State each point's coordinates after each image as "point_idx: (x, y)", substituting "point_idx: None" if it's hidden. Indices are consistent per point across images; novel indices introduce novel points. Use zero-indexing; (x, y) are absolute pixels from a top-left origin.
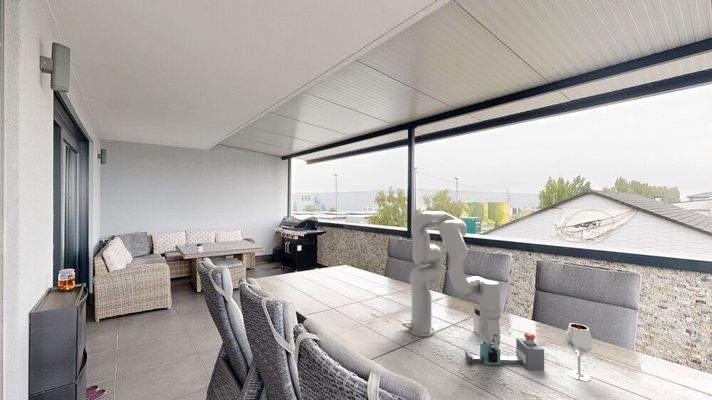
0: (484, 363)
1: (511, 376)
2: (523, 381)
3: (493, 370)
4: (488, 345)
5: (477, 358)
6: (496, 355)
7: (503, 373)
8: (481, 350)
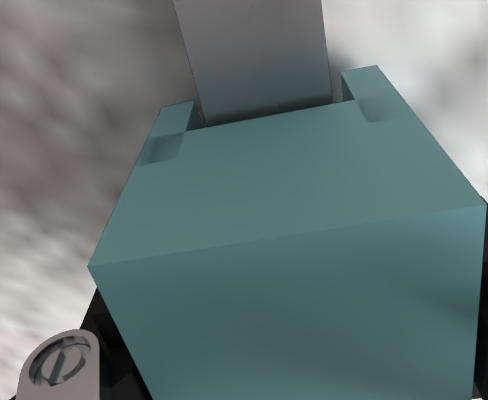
0: (168, 108)
1: (42, 332)
2: (5, 393)
3: (83, 191)
4: (366, 372)
5: (182, 3)
6: None
7: (65, 279)
8: (331, 150)
